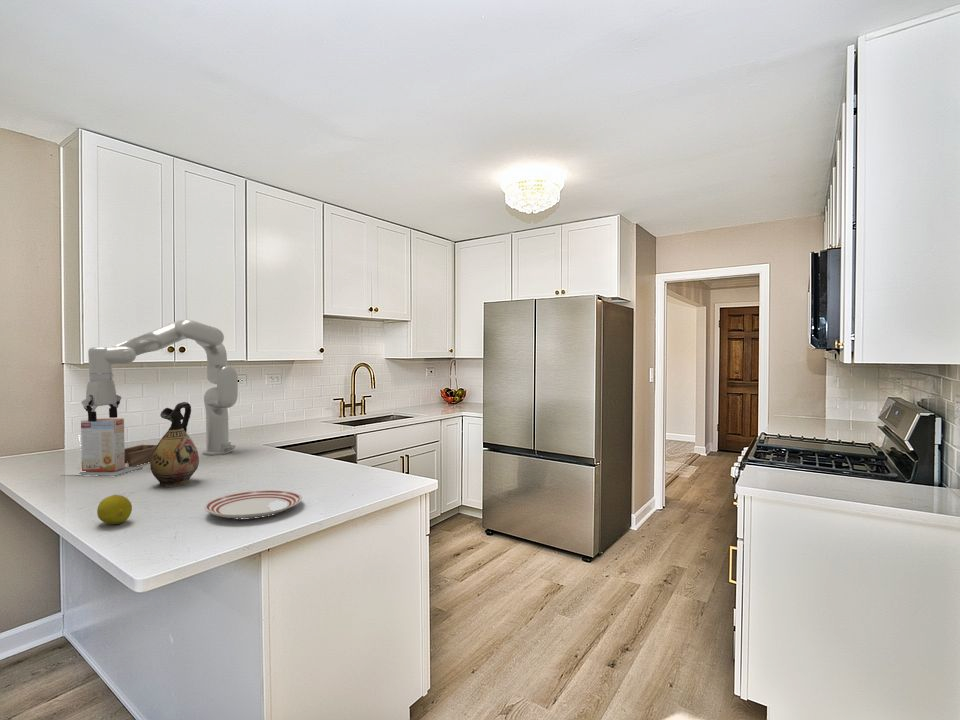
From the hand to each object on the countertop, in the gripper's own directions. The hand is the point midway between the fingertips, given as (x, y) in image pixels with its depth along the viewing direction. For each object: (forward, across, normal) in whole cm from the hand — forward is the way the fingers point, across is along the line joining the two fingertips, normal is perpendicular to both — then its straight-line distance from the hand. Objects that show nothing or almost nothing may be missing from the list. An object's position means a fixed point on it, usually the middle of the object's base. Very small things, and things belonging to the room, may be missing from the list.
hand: (103, 419), depth 204 cm
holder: (+22, -16, 0) cm, 27 cm away
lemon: (+21, +55, +56) cm, 82 cm away
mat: (+21, +1, 0) cm, 21 cm away
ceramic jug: (+22, +13, +42) cm, 49 cm away
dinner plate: (+22, +39, +90) cm, 100 cm away
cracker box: (+21, 0, 0) cm, 21 cm away
